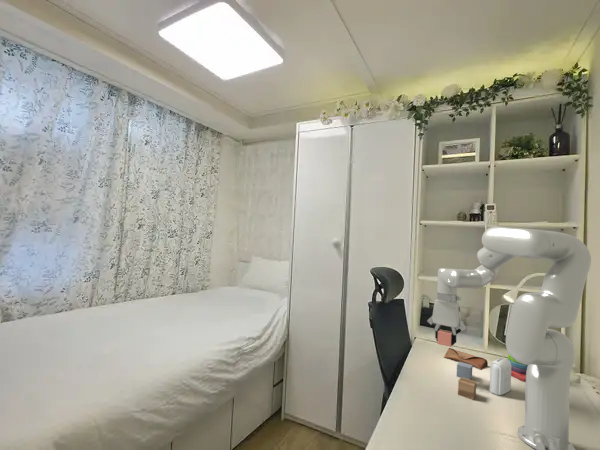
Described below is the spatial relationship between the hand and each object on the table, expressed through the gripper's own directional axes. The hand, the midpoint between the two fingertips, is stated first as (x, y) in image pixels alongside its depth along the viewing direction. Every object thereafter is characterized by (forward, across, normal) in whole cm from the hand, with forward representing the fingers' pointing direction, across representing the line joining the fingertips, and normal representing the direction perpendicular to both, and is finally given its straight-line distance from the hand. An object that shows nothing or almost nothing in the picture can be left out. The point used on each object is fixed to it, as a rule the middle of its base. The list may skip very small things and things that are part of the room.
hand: (445, 342), depth 121 cm
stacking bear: (+15, -23, -32) cm, 43 cm away
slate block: (+15, -5, -10) cm, 19 cm away
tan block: (+15, -9, +8) cm, 20 cm away
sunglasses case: (+15, -2, -31) cm, 35 cm away
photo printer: (+16, -18, -6) cm, 25 cm away
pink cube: (+1, 0, 0) cm, 1 cm away
